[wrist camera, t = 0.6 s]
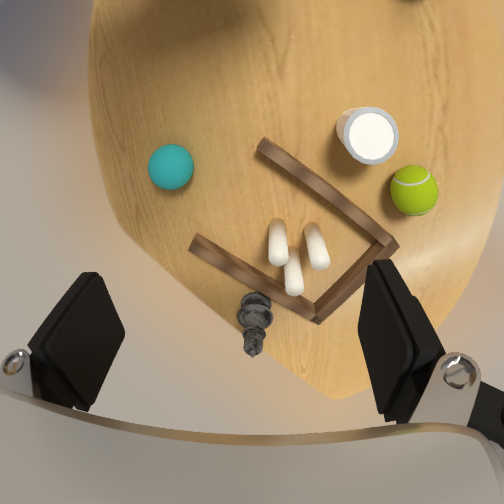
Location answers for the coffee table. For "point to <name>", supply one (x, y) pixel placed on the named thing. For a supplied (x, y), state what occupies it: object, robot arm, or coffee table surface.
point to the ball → (170, 167)
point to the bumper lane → (276, 290)
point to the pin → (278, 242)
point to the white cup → (368, 134)
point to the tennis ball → (414, 190)
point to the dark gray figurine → (254, 321)
